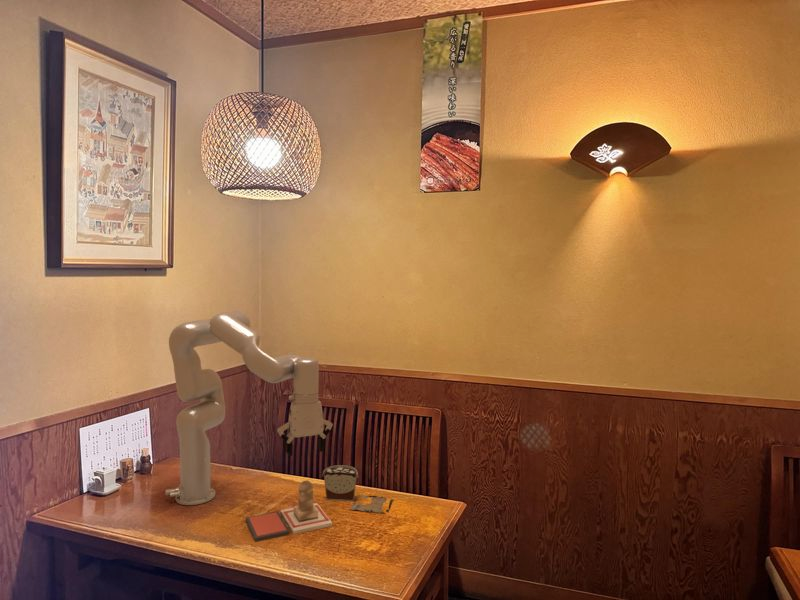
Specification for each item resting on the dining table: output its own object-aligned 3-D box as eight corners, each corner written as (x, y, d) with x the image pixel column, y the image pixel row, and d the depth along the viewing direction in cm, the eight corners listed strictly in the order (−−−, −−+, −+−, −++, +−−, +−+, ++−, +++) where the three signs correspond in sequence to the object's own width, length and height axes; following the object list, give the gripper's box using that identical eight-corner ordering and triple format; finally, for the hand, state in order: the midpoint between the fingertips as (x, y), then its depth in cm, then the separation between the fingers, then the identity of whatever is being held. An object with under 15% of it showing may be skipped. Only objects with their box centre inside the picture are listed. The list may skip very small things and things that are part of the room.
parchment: (387, 515, 171) (387, 512, 171) (348, 511, 174) (348, 508, 174) (395, 499, 183) (395, 496, 183) (358, 495, 186) (358, 493, 186)
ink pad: (255, 541, 153) (255, 537, 153) (245, 520, 166) (245, 517, 166) (289, 534, 158) (289, 530, 158) (278, 514, 170) (277, 510, 170)
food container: (361, 493, 187) (361, 465, 186) (358, 501, 181) (358, 472, 180) (326, 491, 188) (326, 463, 187) (322, 499, 182) (322, 470, 181)
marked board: (293, 534, 158) (293, 530, 158) (280, 513, 171) (280, 509, 171) (332, 525, 163) (332, 522, 163) (316, 506, 177) (316, 502, 177)
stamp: (299, 522, 163) (299, 486, 163) (293, 514, 169) (293, 479, 168) (318, 518, 166) (318, 483, 165) (312, 510, 171) (312, 476, 171)
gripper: (281, 403, 158) (280, 460, 159) (336, 398, 166) (335, 452, 167) (274, 397, 164) (274, 452, 166) (328, 392, 172) (327, 445, 173)
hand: (305, 452), depth 166 cm, fingers open, 9 cm apart
